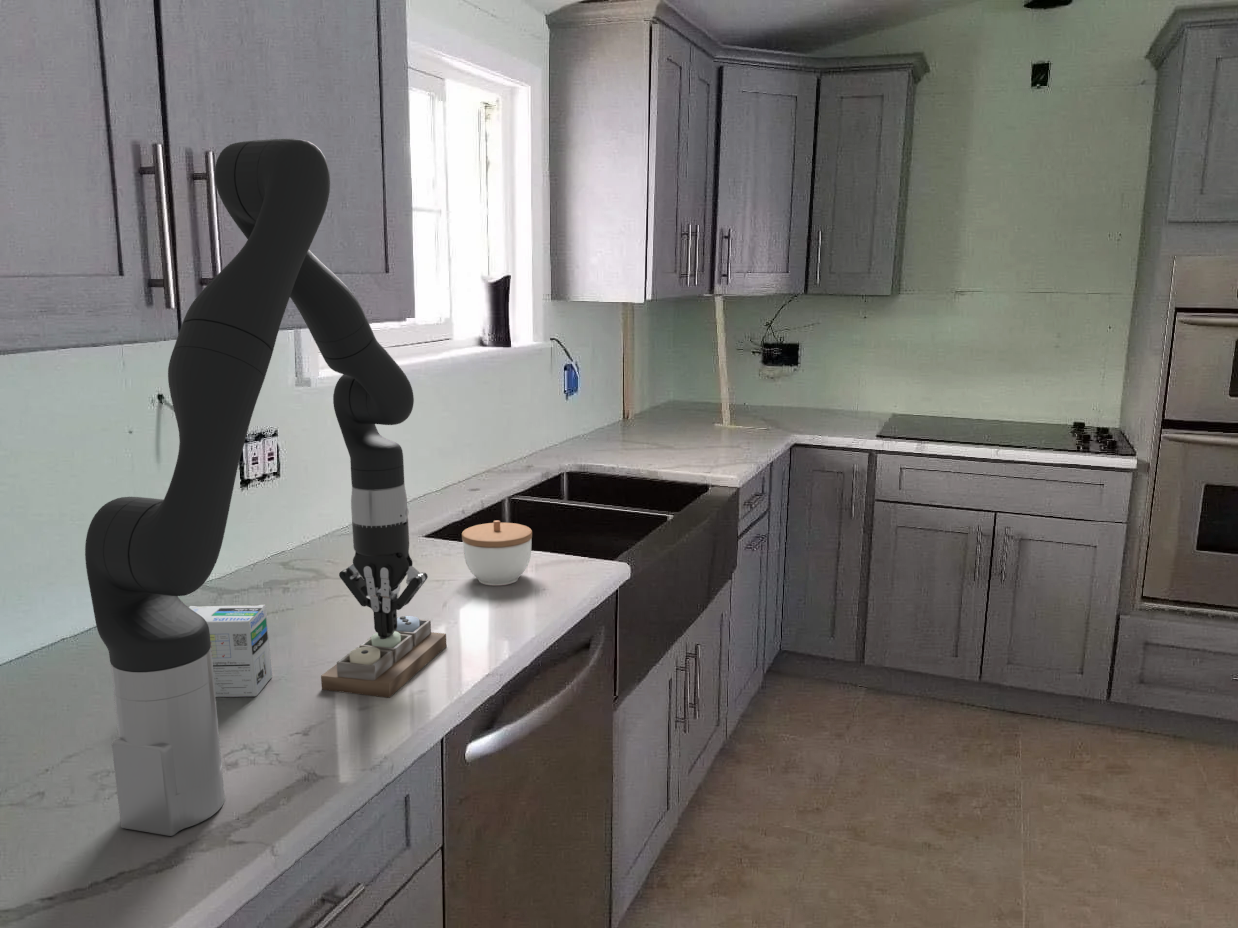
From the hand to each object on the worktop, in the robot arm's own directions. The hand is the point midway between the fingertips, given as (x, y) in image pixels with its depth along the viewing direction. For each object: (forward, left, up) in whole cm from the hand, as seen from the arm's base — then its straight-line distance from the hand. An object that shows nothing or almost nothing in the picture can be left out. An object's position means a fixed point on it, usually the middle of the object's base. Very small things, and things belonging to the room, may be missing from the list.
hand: (386, 634), depth 134 cm
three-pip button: (+6, 0, -3) cm, 6 cm away
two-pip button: (0, 0, -3) cm, 3 cm away
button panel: (0, 0, -5) cm, 5 cm away
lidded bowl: (+40, -1, -5) cm, 41 cm away
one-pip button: (-6, 0, -3) cm, 7 cm away
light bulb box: (-12, +18, -5) cm, 22 cm away
